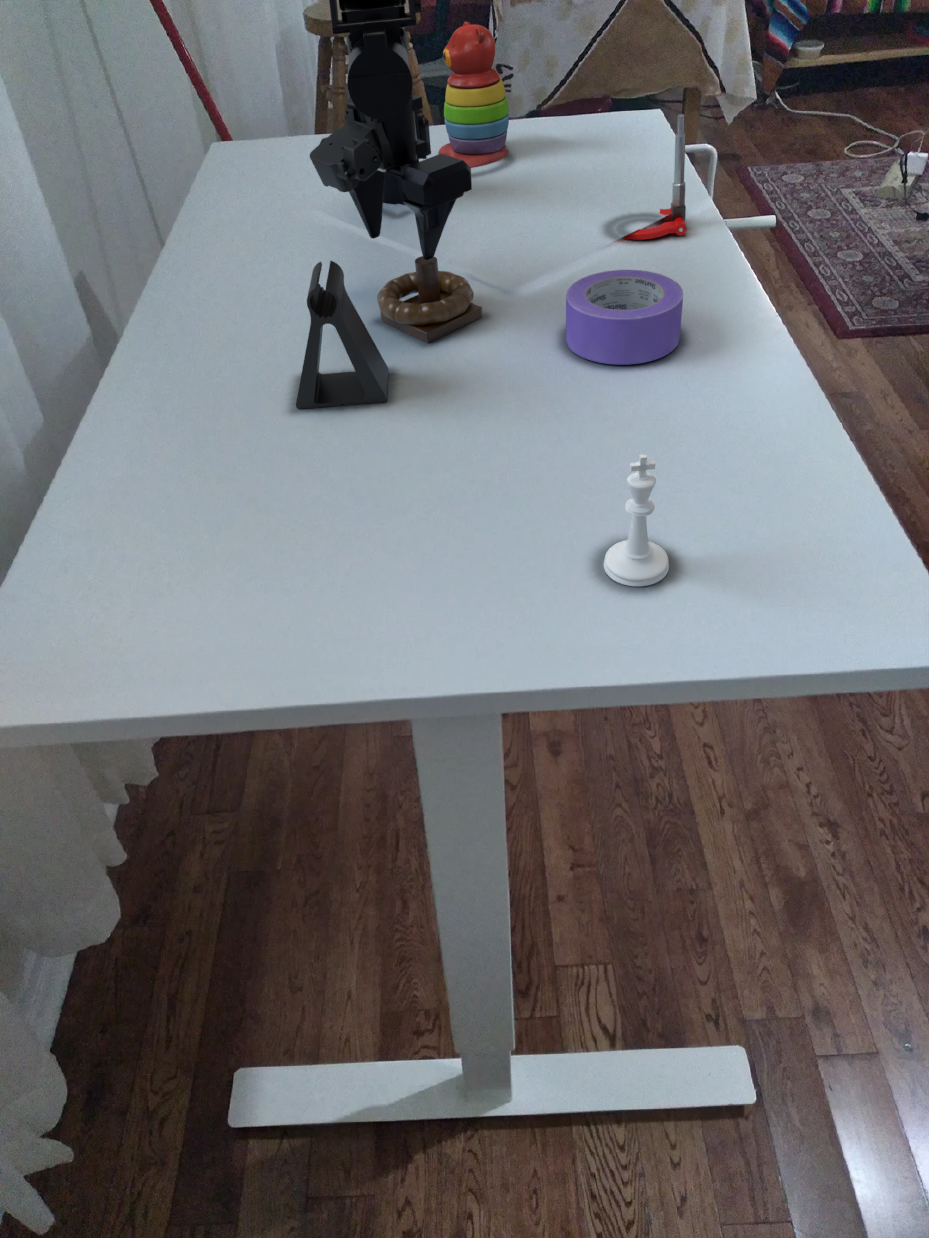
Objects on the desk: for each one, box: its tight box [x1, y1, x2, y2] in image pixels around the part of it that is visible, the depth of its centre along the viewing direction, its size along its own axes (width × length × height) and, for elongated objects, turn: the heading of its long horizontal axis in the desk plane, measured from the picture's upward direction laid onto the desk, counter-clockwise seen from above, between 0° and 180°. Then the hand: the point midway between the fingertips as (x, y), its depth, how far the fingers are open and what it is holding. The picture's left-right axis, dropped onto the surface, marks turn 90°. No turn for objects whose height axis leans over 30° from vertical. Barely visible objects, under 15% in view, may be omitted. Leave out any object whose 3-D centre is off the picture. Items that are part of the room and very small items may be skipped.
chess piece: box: [603, 453, 670, 587], centre depth 71 cm, size 5×5×10 cm
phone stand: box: [295, 260, 389, 410], centre depth 93 cm, size 9×6×12 cm, turn 91°
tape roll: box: [565, 269, 684, 366], centre depth 99 cm, size 12×12×5 cm
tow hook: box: [621, 113, 688, 241], centre depth 117 cm, size 8×13×9 cm
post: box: [380, 255, 483, 344], centre depth 105 cm, size 8×8×7 cm
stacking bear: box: [437, 21, 510, 169], centre depth 138 cm, size 11×10×18 cm
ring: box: [376, 270, 475, 325], centre depth 106 cm, size 10×10×2 cm
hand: (401, 247), depth 105 cm, fingers open, 9 cm apart
